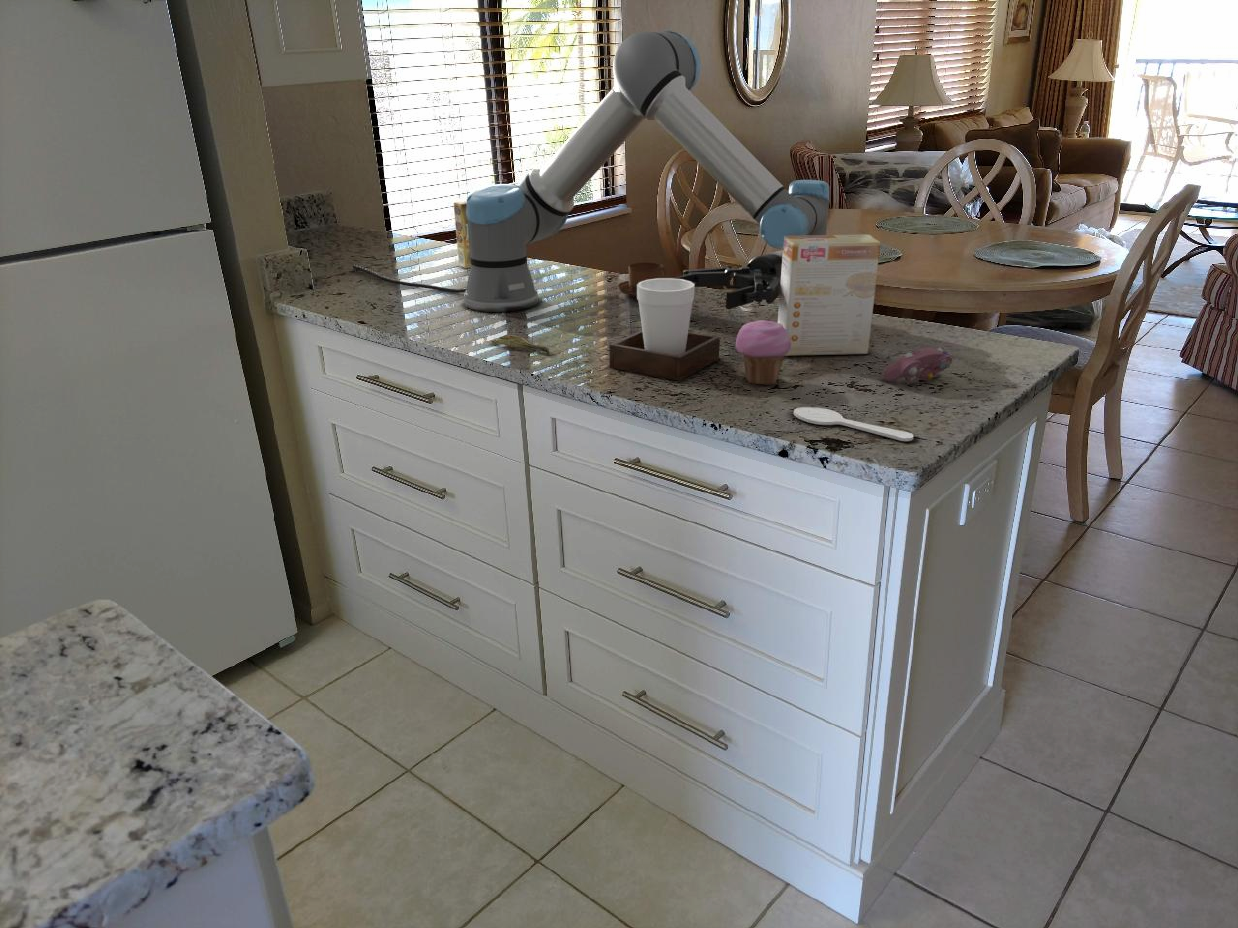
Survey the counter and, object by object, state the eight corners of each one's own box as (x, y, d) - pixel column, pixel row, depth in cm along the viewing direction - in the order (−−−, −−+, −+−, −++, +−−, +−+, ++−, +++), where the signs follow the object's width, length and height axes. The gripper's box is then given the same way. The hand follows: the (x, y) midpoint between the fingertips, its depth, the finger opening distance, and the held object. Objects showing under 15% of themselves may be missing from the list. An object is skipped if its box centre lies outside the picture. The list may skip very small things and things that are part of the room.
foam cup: (688, 370, 158) (689, 292, 152) (633, 367, 159) (632, 290, 154) (695, 353, 166) (697, 279, 161) (643, 350, 168) (643, 277, 163)
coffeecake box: (856, 342, 172) (868, 233, 164) (869, 355, 166) (882, 241, 158) (774, 344, 171) (783, 234, 163) (784, 356, 165) (793, 242, 157)
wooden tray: (609, 367, 161) (609, 344, 160) (651, 347, 172) (651, 325, 170) (679, 381, 154) (680, 357, 153) (719, 359, 165) (720, 336, 163)
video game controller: (893, 396, 151) (910, 363, 146) (878, 376, 154) (895, 343, 149) (943, 387, 155) (961, 355, 150) (927, 367, 157) (945, 335, 152)
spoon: (904, 445, 129) (904, 442, 128) (786, 416, 139) (786, 413, 139) (920, 433, 132) (920, 430, 132) (803, 406, 143) (804, 403, 142)
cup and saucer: (632, 285, 214) (632, 258, 212) (682, 291, 209) (682, 262, 207) (608, 298, 204) (608, 269, 202) (660, 303, 199) (660, 274, 197)
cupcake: (788, 391, 149) (792, 329, 145) (732, 389, 151) (734, 327, 146) (789, 373, 157) (792, 314, 153) (736, 371, 159) (738, 312, 154)
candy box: (465, 269, 232) (460, 204, 225) (458, 266, 235) (452, 202, 229) (498, 264, 236) (494, 200, 230) (489, 261, 239) (485, 198, 233)
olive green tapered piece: (545, 356, 167) (544, 345, 166) (489, 348, 174) (487, 337, 173) (559, 350, 170) (558, 339, 169) (503, 342, 177) (502, 332, 176)
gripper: (828, 305, 171) (753, 329, 158) (720, 282, 187) (645, 302, 174) (831, 263, 168) (756, 284, 155) (722, 244, 184) (645, 261, 171)
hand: (697, 294), depth 164 cm, fingers open, 13 cm apart
